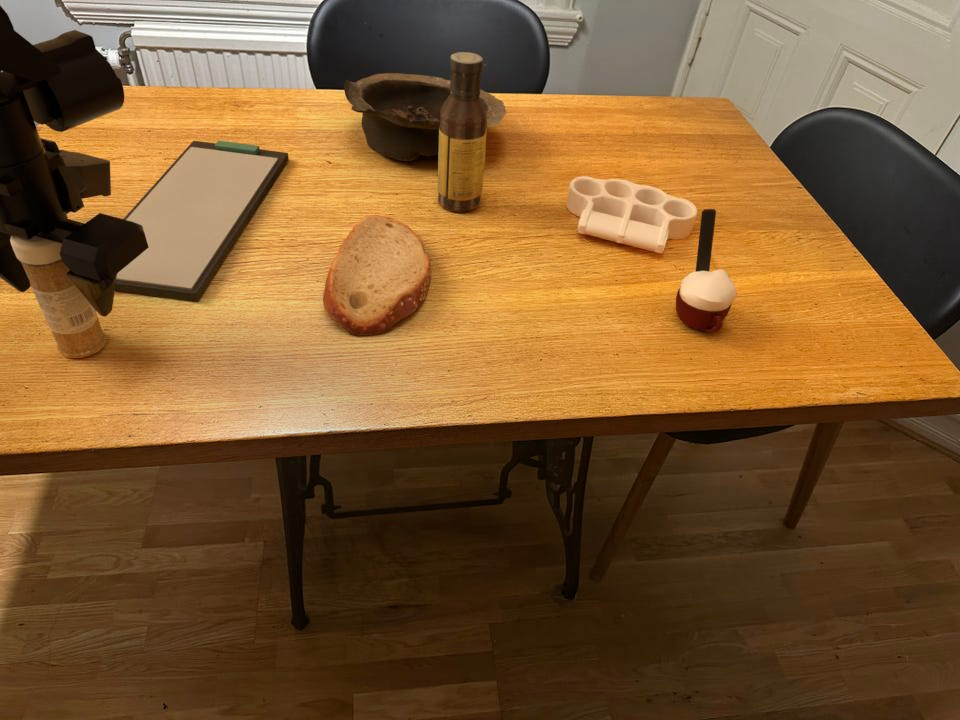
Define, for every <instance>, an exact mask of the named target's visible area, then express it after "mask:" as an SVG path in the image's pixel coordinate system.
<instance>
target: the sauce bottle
mask: <svg viewBox="0 0 960 720" xmlns="http://www.w3.org/2000/svg"><path fill="white" fill-rule="evenodd" d="M449 68H450V80H451V86H450V95H449V97H448V98H447V100H446V101H445V103H444V104H443V106H442V108H441V112H440V127H439V154H437V155H438V158H437V159H438V160H437V193H438V196H437V202H438V204H439V205H440V206H441V207H442V208H444V209H445V210H447V211H450V212H455V213H456V212H457V213H464V212H469V211H472V210H474V209H477V208H478V207H479V206H480V204H481V197H482V193H483V187H484V175H485V164H486V163H485V162H486V149H487V134H488V127H487V112H486V109H485V106H484V104H483V102H482V101H481V99H480V97H479V96H480V90H481V76H482V72H483V69H484V59H483V57H482V55H479V54H478V53H475V52H469V51H467V52H466V51H458V52H455V53H453V54H451V55H450V58H449Z"/></svg>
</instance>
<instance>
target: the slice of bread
mask: <svg viewBox="0 0 960 720" xmlns="http://www.w3.org/2000/svg"><path fill="white" fill-rule="evenodd" d="M431 273H432V266H431V260H430V257H429V256H428V254H426V250H425V245H424V242H423V240H422V239H421V238H420V236H419V235H418V234H417V233H416V232H415V231H414V230H413V229H412V228H411V227H409V226H408V225H406V224H404V223H403V222H401V221H400V220H397V219H394V218H391V217H389V216H388V217H387V216H383V215H379V214H370V215H365V216H363V217H362V218H361V219H360V220H358V221H357V223H355V225H354V226H352V229H351V230H350V231H349V233H348V235H347V236H346V238H345V239H344V241H343V242H342V244H341V246H340V247H339V249H338V251H337V253H336V255H335V257H334V258H333V261H332V263H331V265H330V267H329V269H328V273H327V276H326V279H325V282H324V289H323V290H324V291H323V295H322V297H323V298H322V299H323V307H324V310H325V311H326V312H327V314H328V316H329V317H330V318H331V319H332V320H333V321H334V322H335V323H336V324H337V325H339V326H341V327H342V328H344V330H346V331H347V332H348V333H349V334H351V335H354V336H359V337H360V336H367V335H379V334H384V333H386V332H388V330H390V328H391V327H392V326H394V325H395V324H396V323H398V322H400V321H401V320H403V319H405V318H407V317H409V316H411V315H412V314H413V313H415V311H416V310H418V308H419V307H420V306H421V304H422V303H423V302H424V299H425V297H426V296H427V292H428V288H429V286H430V282H431Z"/></svg>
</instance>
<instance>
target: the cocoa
mask: <svg viewBox="0 0 960 720" xmlns="http://www.w3.org/2000/svg"><path fill="white" fill-rule="evenodd" d="M716 215H717V210H716V209H715V208H705V209H703V210H702V211H701V217H700V224H699V225H700V226H699V235H698V245H697V254H696V263H695V270H694V271H692V272H691V273H689V274H688V275H686V276H684V277H683V278H682V279H681V283H680V285H679V288H678V290H677V293H676V296H675V311H676V315H677V317H678V319H679V321H680V322H682V323H683V324H684V325H685V326H687V327H689V328H691V329H694V330H699V331H705V332H707V333H714V332H719V331H720V330H721V329H722V326H723V321H725V319H726V317H727V316H728V314H729V312H730V310H731V307H732V305H733V303H734V302H735V299H736V298H737V296H738V291H737V290H736V287H735V286H736V285H735V282H734V280H733V279H732V278H731V277H730V276H729V274H728V272H727V270H726V269H721V268H718V269H714V270H711V271H710V269H711V261H712V253H713V243H714V242H713V241H714V232H715V224H716Z"/></svg>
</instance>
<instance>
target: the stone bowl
mask: <svg viewBox="0 0 960 720" xmlns="http://www.w3.org/2000/svg"><path fill="white" fill-rule="evenodd" d="M450 86H451V79H450V80H449V79H445V78H444V77H437V76H434V75H424V74H411V73H408V74H407V73H402V72H401V73H400V72H389V73H388V72H387V73H386V72H385V73H375V74H373V75H370V76H368V77H364V78H361V79H359V80H356V81H355V82H354V81H350V80H348V79H347V78H346V79H345V80H344V85H343V90H344V96H345V98H346V100H347V102H348V103H349V104H350V105H351V108H350V110H351V111H353V112H356V113H359V114H360V113H361V115H362V117H361V129H362V131H363V133H364V136H365V139H366V144H367V146H368V147H369V148H370V149H372V150H373V151H376V153H377V154H380V155H381V156H383V157H384V158H387V159H388V158H393V159H394V160H396V161H397V160H398V161H401V162H409V161H414V160H416V159H418V158H419V157H420V155H421V156H425V157H432V156H436V155H438V154H439V127H440V112H441V108H442V106H443V104H444V103H445V101H446V100H447V98H448V97H449V95H450ZM479 97H480V99H481V101H482V102H483V104H484V106H485V109H486V112H487V128H490V127H496V126H498V125H499V124H500V123H501V121H503V119H504V116H505V115H506V114H507V113H508V112H507V111H508V110H507V109H506V105H504V104H505V103H504V101H503V100H501V99H499V98H497V97H496V96H495V95H493V94H491V93H489V92H487V91H485V90H483V89H480V96H479Z"/></svg>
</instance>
